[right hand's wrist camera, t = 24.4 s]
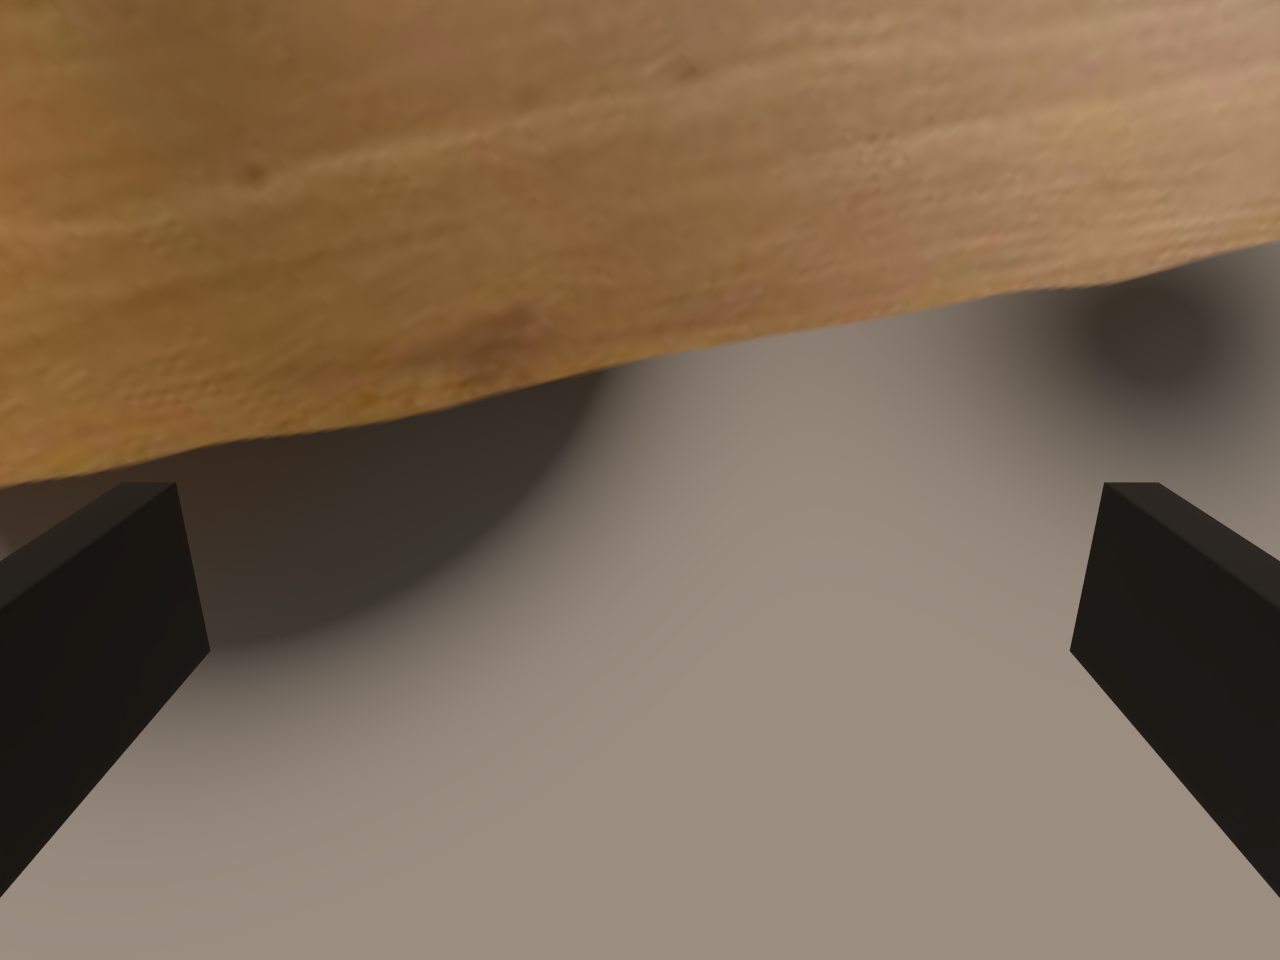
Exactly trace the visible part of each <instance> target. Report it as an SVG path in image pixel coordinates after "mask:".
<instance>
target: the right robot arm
mask: <svg viewBox="0 0 1280 960" xmlns="http://www.w3.org/2000/svg"><path fill="white" fill-rule="evenodd" d="M209 652H210V647H209V643H208V638H207V633H206V628H205V623H204V618H203V614H202V608H201V604H200V599H199V594H198V589H197V584H196V579H195V574H194V570H193V565H192V560H191V555H190V550H189V545H188V540H187V535H186V530H185V525H184V521H183V516H182V511H181V506H180V501H179V496H178V491H177V486H176V483H120V484H119V485H117V486H115V487H114V488H112V489H111V490H109V491H108V492H106V493H105V494H103V495H102V496H100V497H98V498H97V499H95V500H94V501H92V502H91V503H89V504H88V505H86V506H85V507H83V508H82V509H80V510H78V511H77V512H75V513H74V514H72V515H71V516H69V517H68V518H66V519H65V520H63V521H62V522H60V523H58V524H57V525H55V526H54V527H52V528H51V529H49V530H48V531H46V532H45V533H43V534H42V535H40V536H38V537H37V538H35V539H34V540H32V541H31V542H29V543H28V544H26V545H24V546H23V547H21V548H20V549H18V550H17V551H15V552H14V553H12V554H11V555H9V556H8V557H6V558H4V559H3V560H1V561H0V897H1V896H2V895H3V894H4V893H5V891H6V890H7V889H8V888H9V887H10V885H11V884H12V883H13V882H14V881H15V880H16V878H17V877H18V876H19V875H20V874H21V873H22V871H23V870H24V869H25V868H26V867H27V866H28V864H29V863H30V862H31V861H32V860H33V859H34V857H35V856H36V855H37V854H38V853H39V851H40V850H41V849H42V848H43V847H44V845H45V844H46V843H47V842H48V841H49V840H50V839H51V837H52V836H53V835H54V834H55V833H56V831H57V830H58V829H59V828H60V827H61V826H62V824H63V823H64V822H65V821H66V820H67V819H68V817H69V816H70V815H71V814H72V813H73V811H74V810H75V809H76V808H77V807H78V806H79V804H80V803H81V802H82V801H83V800H84V799H85V797H86V796H87V795H88V794H89V793H90V791H91V790H92V789H93V788H94V787H95V786H96V784H97V783H98V782H99V781H100V780H101V779H102V777H103V776H104V775H105V774H106V773H107V772H108V770H109V769H110V768H111V767H112V766H113V765H114V763H115V762H116V761H117V760H118V759H119V757H120V756H121V755H122V754H123V753H124V752H125V750H126V749H127V748H128V747H129V746H130V745H131V743H132V742H133V741H134V740H135V739H136V738H137V736H138V735H139V734H140V733H141V732H142V730H143V729H144V728H145V727H146V726H147V725H148V723H149V722H150V721H151V720H152V719H153V718H154V716H155V715H156V714H157V713H158V712H159V710H160V709H161V708H162V707H163V706H164V705H165V703H166V702H167V701H168V700H169V699H170V698H171V696H172V695H173V694H174V693H175V692H176V690H177V689H178V688H179V687H180V686H181V685H182V683H183V682H184V681H185V680H186V679H187V678H188V676H189V675H190V674H191V673H192V672H193V671H194V669H195V668H196V667H197V666H198V665H199V663H200V662H201V661H202V660H203V659H204V658H205V656H206V655H207V654H208V653H209ZM1070 652H1071V653H1072V654H1073V655H1074V656H1075V658H1076V659H1077V660H1078V661H1079V662H1080V663H1081V665H1082V666H1083V667H1084V668H1085V669H1086V670H1087V672H1088V673H1089V674H1090V675H1091V676H1092V678H1093V679H1094V680H1095V681H1096V682H1097V683H1098V685H1099V686H1100V687H1101V688H1102V689H1103V691H1104V692H1105V693H1106V694H1107V695H1108V696H1109V698H1110V699H1111V700H1112V701H1113V702H1114V703H1115V705H1116V706H1117V707H1118V708H1119V709H1120V710H1121V712H1122V713H1123V714H1124V715H1125V716H1126V717H1127V719H1128V720H1129V721H1130V722H1131V723H1132V725H1133V726H1134V727H1135V728H1136V729H1137V730H1138V732H1139V733H1140V734H1141V735H1142V736H1143V738H1144V739H1145V740H1146V741H1147V742H1148V743H1149V745H1150V746H1151V747H1152V748H1153V749H1154V750H1155V752H1156V753H1157V754H1158V755H1159V756H1160V757H1161V759H1162V760H1163V761H1164V762H1165V763H1166V765H1167V766H1168V767H1169V768H1170V769H1171V770H1172V771H1173V773H1174V774H1175V775H1176V776H1177V777H1178V779H1179V780H1180V781H1181V782H1182V783H1183V784H1184V786H1185V787H1186V788H1187V789H1188V790H1189V792H1190V793H1191V794H1192V795H1193V796H1194V797H1195V799H1196V800H1197V801H1198V802H1199V803H1200V804H1201V806H1202V807H1203V808H1204V809H1205V810H1206V811H1207V813H1208V814H1209V815H1210V816H1211V817H1212V819H1213V820H1214V821H1215V822H1216V823H1217V824H1218V826H1219V827H1220V828H1221V829H1222V830H1223V832H1224V833H1225V834H1226V835H1227V836H1228V837H1229V839H1230V840H1231V841H1232V842H1233V843H1234V844H1235V846H1236V847H1237V848H1238V849H1239V850H1240V851H1241V853H1242V854H1243V855H1244V856H1245V857H1246V858H1247V860H1248V861H1249V862H1250V863H1251V864H1252V866H1253V867H1254V868H1255V869H1256V870H1257V871H1258V873H1259V874H1260V875H1261V876H1262V877H1263V879H1264V880H1265V881H1266V882H1267V883H1268V884H1269V886H1270V887H1271V888H1272V889H1273V890H1274V891H1275V893H1276V894H1277V895H1278V896H1279V897H1280V561H1279V560H1277V559H1276V558H1274V557H1272V556H1271V555H1269V554H1268V553H1266V552H1265V551H1263V550H1262V549H1260V548H1259V547H1257V546H1255V545H1254V544H1252V543H1251V542H1249V541H1248V540H1246V539H1245V538H1243V537H1242V536H1240V535H1239V534H1237V533H1235V532H1234V531H1232V530H1231V529H1229V528H1228V527H1226V526H1225V525H1223V524H1222V523H1220V522H1219V521H1217V520H1215V519H1214V518H1212V517H1211V516H1209V515H1208V514H1206V513H1205V512H1203V511H1201V510H1200V509H1199V508H1197V507H1195V506H1194V505H1192V504H1191V503H1189V502H1188V501H1186V500H1185V499H1183V498H1182V497H1180V496H1178V495H1177V494H1175V493H1174V492H1172V491H1171V490H1169V489H1168V488H1166V487H1165V486H1163V485H1162V484H1160V483H1104V486H1103V491H1102V496H1101V501H1100V506H1099V511H1098V516H1097V521H1096V525H1095V530H1094V535H1093V540H1092V545H1091V550H1090V555H1089V560H1088V565H1087V569H1086V574H1085V579H1084V584H1083V589H1082V594H1081V599H1080V603H1079V609H1078V613H1077V618H1076V623H1075V628H1074V633H1073V638H1072V643H1071V647H1070Z"/></svg>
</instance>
